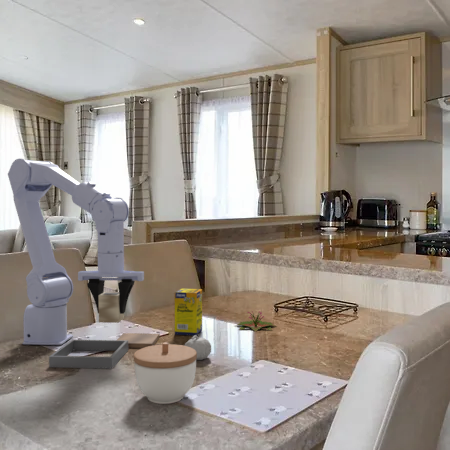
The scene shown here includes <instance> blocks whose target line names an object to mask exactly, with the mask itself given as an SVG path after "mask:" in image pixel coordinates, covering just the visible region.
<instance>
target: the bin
mask: <svg viewBox="0 0 450 450" xmlns="http://www.w3.org/2000/svg"><path fill="white" fill-rule="evenodd" d="M73 351H108V352H109V351H113V353H112V354H110V356H95V355H93V356H91V355H90V356H89V355H88V356H86V355H85V356H84V355H80V356H79V355H69V354H71V353H72V352H73ZM128 351H129V348H128V340H117V339H116V340H115V339H71V340H68V342H67V343H66V344H64V345H63V346H61V347H60V348H59V349H57V350H56V351H55V352H53V353H51V355H49V356H48V367H49V368H63V369H64V368H68V369H69V368H71V369H73V368H76V369H113V368H114V367H115V365H117V364H118V362H119V361H120V360H121V359H122V358H123V357H124V356H125V354H126V353H127V352H128Z"/></svg>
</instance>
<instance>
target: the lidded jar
mask: <svg viewBox="0 0 450 450" xmlns="http://www.w3.org/2000/svg"><path fill="white" fill-rule="evenodd" d="M196 358H197V352H196V351H195V349H193V348H191V347H188V346H184V344H183V345H182V344H172V343H171V344H170V343H169V342H162V344H155V345H154V346H148V347H145V348H138V350H136V351H135V352H134V354H133V361H134V362H133V364H134V367H133V368H134V375H135V376H134V377H135V381H136V384H137V387H138V388H139V390H140V392H141V394H143V395H144V396H145V397H146V398H147V400H148V401H149V402H151V403H153V404H158V405H168V404H169V405H170V404H175V403H178V402H180V401H182V400H183V399H184V397H185V395H186V394H187V393H188V392H189V391H190V389H191V387H193V384H194V381H195V379H196V378H195V377H196V372H197V371H196V370H197V360H196ZM181 399H182V400H181Z"/></svg>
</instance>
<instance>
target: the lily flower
mask: <svg viewBox="0 0 450 450" xmlns="http://www.w3.org/2000/svg"><path fill="white" fill-rule="evenodd" d="M247 313H248V314H249V316H248V318H249V319H250V320H248V321H242V320H241V321H239V323H237V324H235V325H234V326H235V327H236V326H239V329H238V330H245V328H246V329H248V327H249V328H250V329H251V330H253V331H254V332H258V331H259V330H261V329H263V327H264V328H265V330H269V331H273V329H272V327H278V325H275V324H273V323H272V322H271V321H262V319H263V318H265V316H264V315H263V316H262V313H263V312H262V311H261V310H259V311H258V313H257V316H255V314H254V311H252V310H251V312H249V311H247ZM255 317H256V318H255ZM257 325H258V326H257ZM253 326H254V327H253Z"/></svg>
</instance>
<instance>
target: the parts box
mask: <svg viewBox="0 0 450 450" xmlns="http://www.w3.org/2000/svg"><path fill="white" fill-rule="evenodd" d="M119 308H120V295H119V291H104V293H102V294H100V295H99V313H98V323H103V324H104V323H106V324H107V323H113V324H115V323H116V324H118V323H120V322H121V321H123V320H124V319H125V313H123V314H120V309H119Z"/></svg>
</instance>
